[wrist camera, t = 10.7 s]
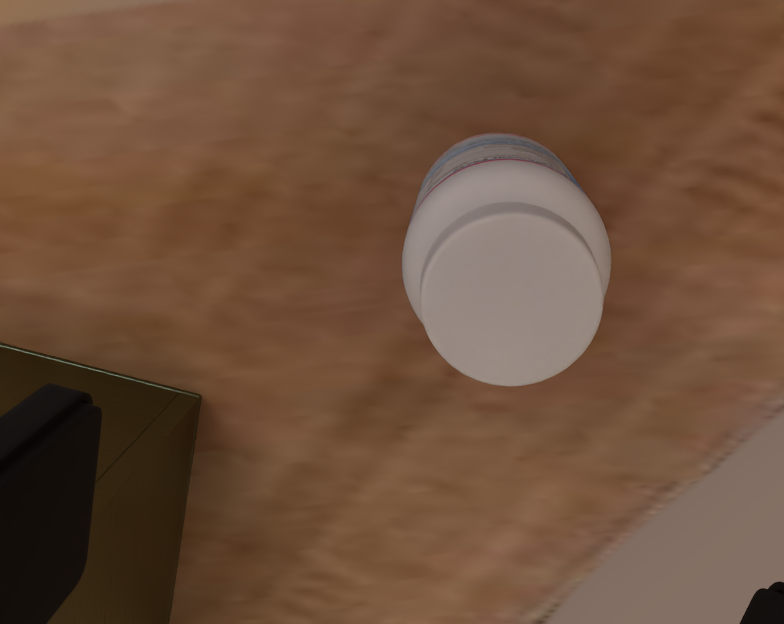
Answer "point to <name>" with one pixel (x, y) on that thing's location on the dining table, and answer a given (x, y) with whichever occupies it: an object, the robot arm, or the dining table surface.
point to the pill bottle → (506, 260)
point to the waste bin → (122, 485)
